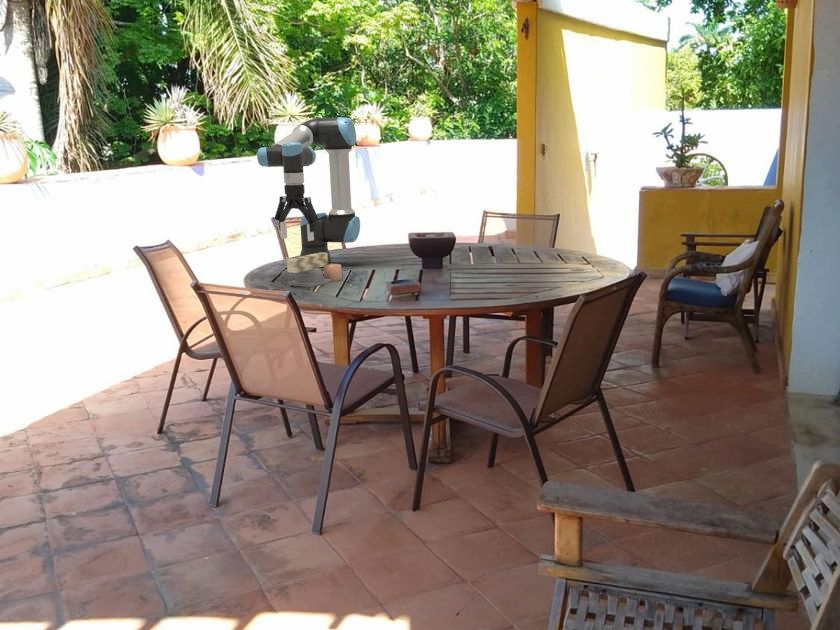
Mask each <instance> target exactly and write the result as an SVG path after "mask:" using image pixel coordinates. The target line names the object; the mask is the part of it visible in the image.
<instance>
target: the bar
mask: <svg viewBox="0 0 840 630" xmlns="http://www.w3.org/2000/svg"><path fill="white" fill-rule="evenodd" d="M327 265H328V253H321V252H319V253H315V254H310V255H305V256H300V255H299V256H297V257H292V258H287V259H286V266H287V267H286V269H287V273H293V274H296V273H297V272H302V271H306V270H310V269H314V268H316V269H320V268H324V267H323V266H327Z"/></svg>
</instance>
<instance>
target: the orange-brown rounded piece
mask: <svg viewBox="0 0 840 630" xmlns="http://www.w3.org/2000/svg"><path fill="white" fill-rule="evenodd" d="M323 276H324V279H331V282H340V281H341V280H343V279H342V278H343V277H342V264H341V263H340V264H339V263H332V264H328V265H327V266H324V267H323Z"/></svg>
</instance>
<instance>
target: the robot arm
mask: <svg viewBox="0 0 840 630" xmlns="http://www.w3.org/2000/svg"><path fill="white" fill-rule="evenodd" d="M356 141H357V131H356V126H355V125H354V122H353V120H352V119H350V118H349V117H343V116H340V117H315V118H312V119H308V120H306V121H304V122H302V123H300V124H298V125H297V126H296V127H294V128H293V129H292V132H290V133H289V134H287V135H286V136H285V137H283V138H282V139H280V140H279V141H277V142H276V143H275V144H273V145H271V146H268V147H267V146H264V147H260V148H258V150H257V154H256V157H257V163H258V164H259V166H261V167H268V168H272V167H273V168H274V167H275V168H276V167H277V168H278V167H279V168H280V167H282V169H283V183H284V194H285V195H282V196H279V197H278V198H279V202H278V205H277V209H276V212H275V215H274V220H275V221H277V222H278V228H279V231H280V239H282V240H284V239H287V238H288V229H287V228H288V226H287V221H286V219H287V217H288V215H289V214H290V212H291V210H292V209H295V210H299V211H300V212H301V214H302V215H303V216H302V217H301V218H300V225H299V228H300V239H301V251H300V254H299V257H300V256H305V255H310V254H315V253H319V252H321V253H328V264H333V259H332V257H331V253H330V251H329V248H328V247H329V245H328V243H344V244H347V243H355V242H356V241H357V239H358V237H359V236H360V231H361V219H360V216H358V215H356V211H355V210H354V209H353V208H352V197H351V196H352V195H351V193H352V191H351V190H352V189H351V177H350V175H351V174H350V170H351V169H350V155H349V154H350V152H351V151H352V150H353V146H354V145H355V144H356V143H357V142H356ZM310 146H311V147H310ZM312 146H324V150H325V151H326V152H327V153H328V160H329V161H328V163H329V164H328V165H329V179H330V180H329V182H330V196H331V197H330V198H331V199H330V201H331V210H330V211H328V214H327V213H326V212H319V213H318V212H317V213H316V211H315V210H316V209H315V208H314V206H313V203H312V198H311V196H308V197H307V196H306V197H305V195H304V194H305V193H306V192H305V184H304V183H305V177H304V176H305V175H304V167H310V166H312V165H313V164H314V163H315V161H316V158H317V155H316V151H315V150H314V149H313V148H312ZM327 215H328V216H327ZM322 268H324V266H323V267H322Z"/></svg>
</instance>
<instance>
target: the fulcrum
mask: <svg viewBox="0 0 840 630" xmlns="http://www.w3.org/2000/svg"><path fill="white" fill-rule="evenodd" d="M331 282H332V281H331V279H324V274H323V271H322V268H314V269H310V270H306V271H302V272H297V273H295V276H294V279H293V280H290V281H287V285H288V286H296V287H305V288H315V287H317V286H322V285H326V284H329V283H331Z"/></svg>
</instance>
